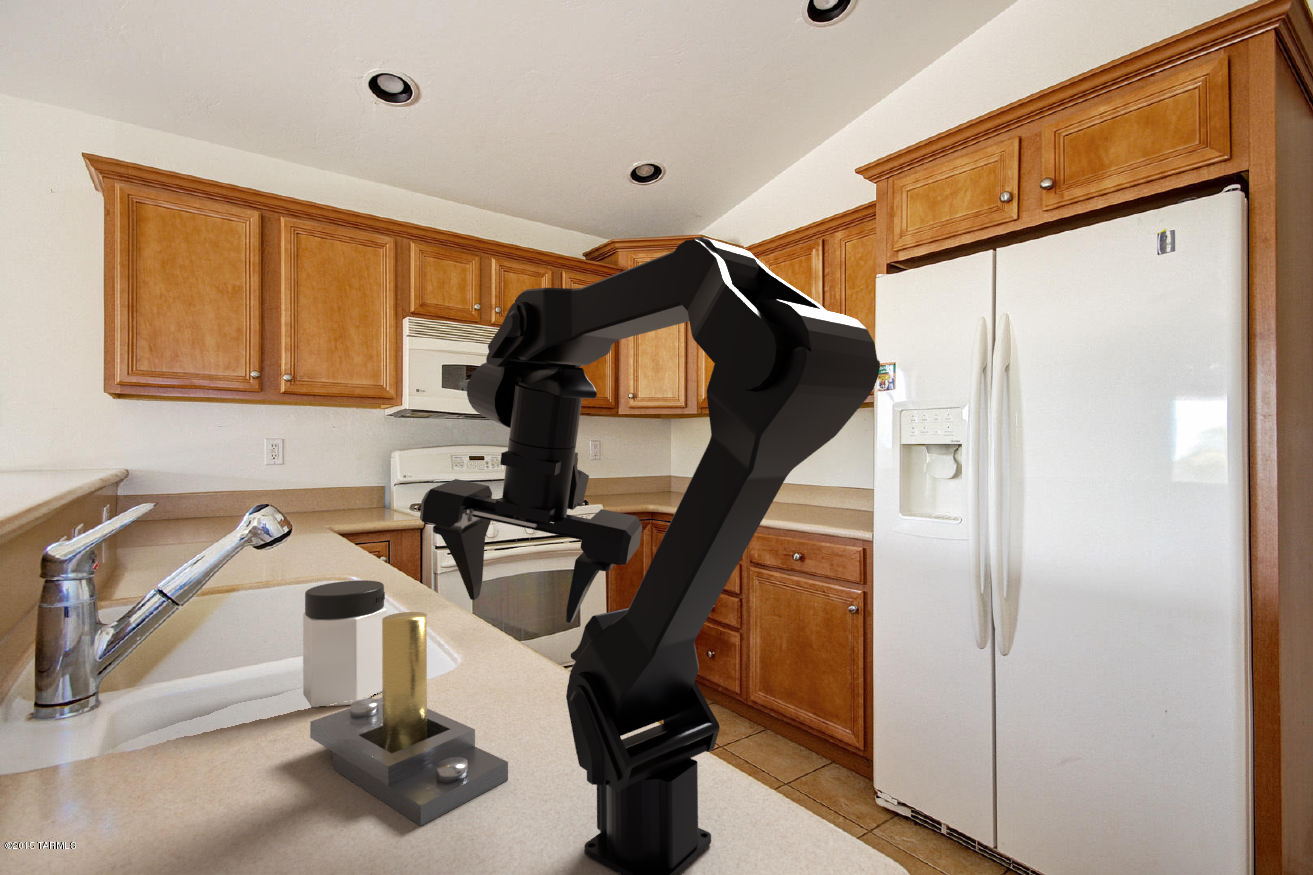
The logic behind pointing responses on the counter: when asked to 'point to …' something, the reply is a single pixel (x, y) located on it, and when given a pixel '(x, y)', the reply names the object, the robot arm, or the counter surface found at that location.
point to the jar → (343, 642)
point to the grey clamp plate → (409, 761)
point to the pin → (404, 680)
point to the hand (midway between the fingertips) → (521, 609)
